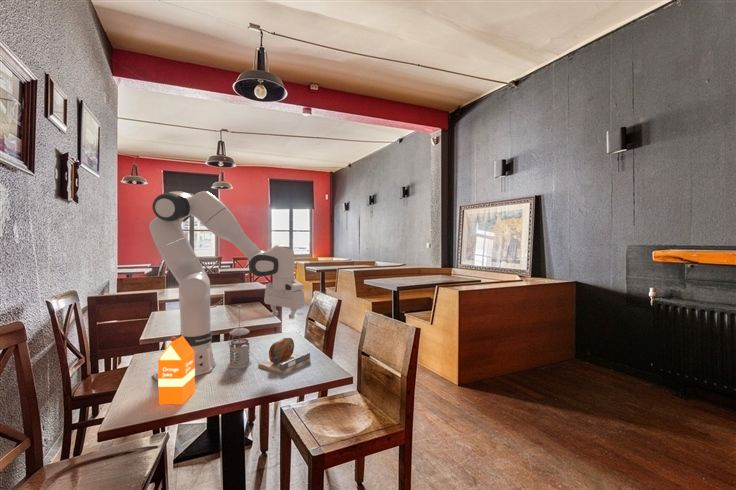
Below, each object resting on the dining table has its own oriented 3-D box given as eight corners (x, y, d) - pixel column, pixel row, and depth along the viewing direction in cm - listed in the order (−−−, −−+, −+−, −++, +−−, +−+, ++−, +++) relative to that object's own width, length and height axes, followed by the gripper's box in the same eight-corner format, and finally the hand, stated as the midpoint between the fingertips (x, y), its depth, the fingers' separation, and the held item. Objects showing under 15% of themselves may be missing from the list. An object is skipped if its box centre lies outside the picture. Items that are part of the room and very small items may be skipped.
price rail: (282, 370, 138) (282, 364, 138) (280, 370, 138) (280, 364, 138) (310, 358, 151) (310, 352, 151) (307, 357, 152) (307, 352, 152)
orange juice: (195, 392, 123) (194, 335, 122) (182, 404, 114) (181, 343, 113) (172, 392, 122) (171, 335, 121) (158, 405, 113) (156, 343, 113)
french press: (235, 370, 142) (235, 308, 140) (220, 363, 149) (219, 304, 148) (256, 363, 149) (256, 304, 148) (241, 357, 156) (240, 301, 155)
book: (282, 374, 138) (282, 370, 138) (258, 367, 145) (258, 363, 145) (310, 361, 151) (310, 358, 151) (286, 355, 159) (286, 352, 159)
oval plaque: (274, 366, 142) (273, 346, 141) (267, 365, 143) (267, 345, 143) (294, 354, 156) (294, 335, 155) (288, 353, 157) (288, 334, 157)
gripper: (260, 282, 150) (260, 314, 151) (296, 287, 139) (295, 322, 140) (272, 280, 155) (271, 312, 156) (307, 285, 144) (306, 318, 145)
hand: (283, 316), depth 148 cm, fingers open, 8 cm apart
